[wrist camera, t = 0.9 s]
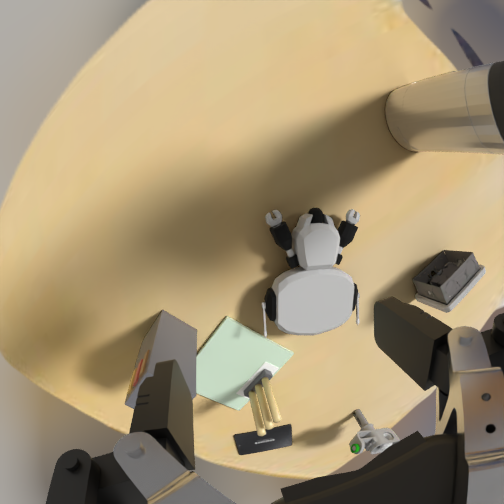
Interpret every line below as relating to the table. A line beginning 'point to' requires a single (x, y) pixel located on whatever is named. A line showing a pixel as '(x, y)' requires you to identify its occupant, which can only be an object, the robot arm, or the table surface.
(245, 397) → the board
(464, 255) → the electrical switch
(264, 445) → the solid state drive
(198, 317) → the table surface
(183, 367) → the plug block
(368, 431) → the mechanical component
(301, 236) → the robot toy
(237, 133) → the table surface
